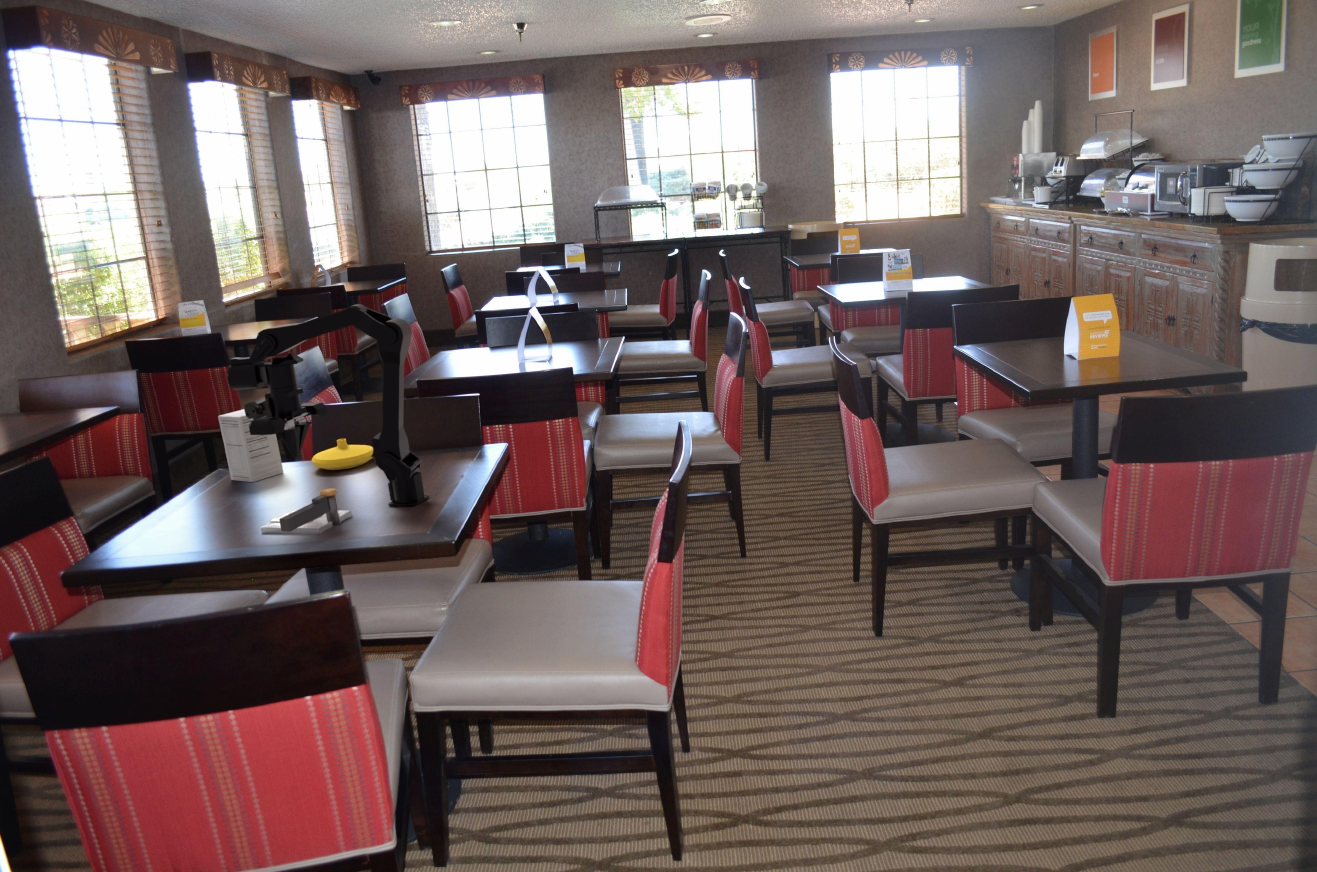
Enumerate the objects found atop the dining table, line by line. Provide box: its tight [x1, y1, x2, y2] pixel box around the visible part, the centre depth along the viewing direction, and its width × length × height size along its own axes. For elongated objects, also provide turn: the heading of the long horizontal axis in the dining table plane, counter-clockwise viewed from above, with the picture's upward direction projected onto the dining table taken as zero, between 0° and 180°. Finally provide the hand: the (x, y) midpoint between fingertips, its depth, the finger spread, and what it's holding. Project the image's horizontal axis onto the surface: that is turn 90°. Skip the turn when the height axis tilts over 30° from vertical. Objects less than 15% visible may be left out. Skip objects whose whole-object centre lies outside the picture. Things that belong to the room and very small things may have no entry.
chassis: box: [260, 494, 353, 535], centre depth 197 cm, size 15×11×6 cm
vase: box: [311, 438, 374, 471], centre depth 244 cm, size 16×16×7 cm
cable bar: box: [279, 487, 338, 532], centre depth 189 cm, size 15×3×4 cm, turn 162°
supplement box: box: [217, 409, 284, 483], centre depth 240 cm, size 10×9×17 cm
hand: (296, 457), depth 205 cm, fingers closed
